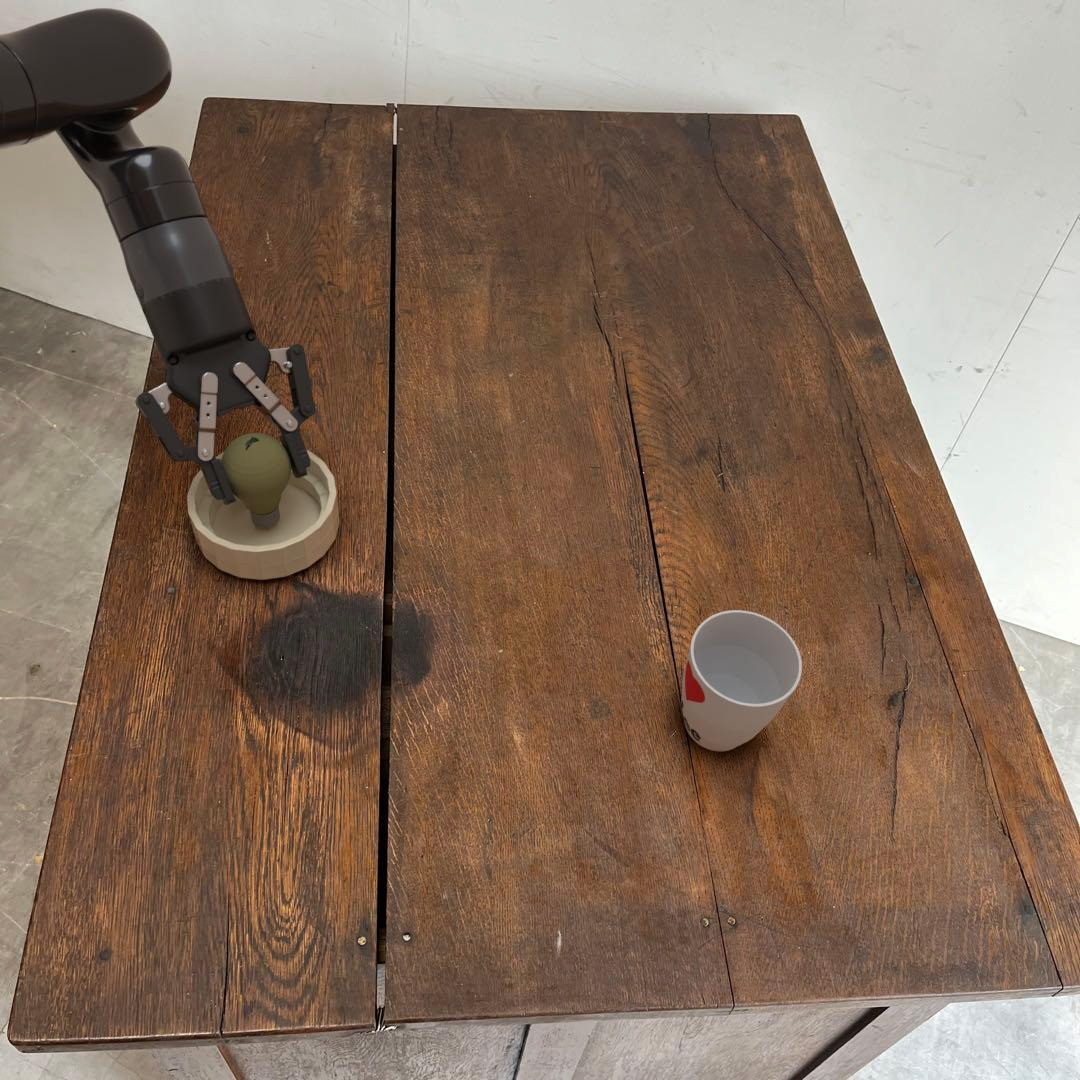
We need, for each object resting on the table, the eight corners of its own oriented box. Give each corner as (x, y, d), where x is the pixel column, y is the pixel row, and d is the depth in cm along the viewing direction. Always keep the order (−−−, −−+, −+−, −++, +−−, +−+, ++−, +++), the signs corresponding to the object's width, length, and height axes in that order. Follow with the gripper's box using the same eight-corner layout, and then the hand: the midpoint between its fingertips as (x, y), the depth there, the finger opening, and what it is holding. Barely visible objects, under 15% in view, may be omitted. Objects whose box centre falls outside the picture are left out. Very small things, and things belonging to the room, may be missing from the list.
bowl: (228, 604, 85) (219, 572, 82) (176, 505, 91) (166, 471, 88) (362, 549, 90) (360, 517, 86) (305, 458, 96) (300, 424, 92)
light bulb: (242, 494, 92) (225, 414, 84) (305, 501, 92) (294, 422, 84) (226, 543, 88) (207, 464, 80) (291, 550, 88) (278, 472, 81)
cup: (673, 668, 85) (697, 599, 77) (770, 691, 84) (805, 624, 76) (659, 755, 80) (683, 691, 72) (762, 780, 79) (798, 718, 71)
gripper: (264, 272, 87) (335, 460, 90) (92, 321, 81) (174, 520, 85) (283, 255, 80) (358, 459, 84) (96, 307, 75) (186, 523, 78)
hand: (265, 489), depth 84 cm, fingers closed on light bulb, 5 cm apart
